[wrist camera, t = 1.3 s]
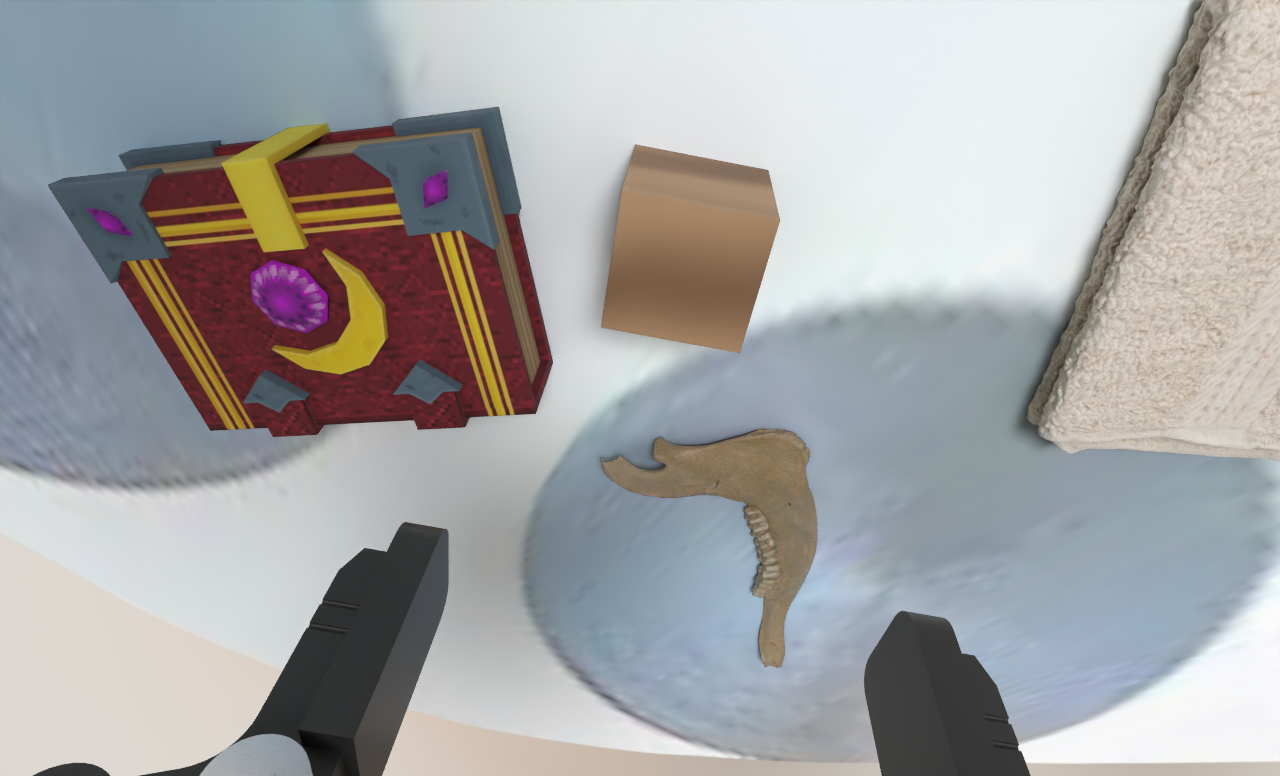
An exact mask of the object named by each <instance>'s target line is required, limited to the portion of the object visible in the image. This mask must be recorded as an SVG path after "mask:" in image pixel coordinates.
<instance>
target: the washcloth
mask: <svg viewBox="0 0 1280 776" xmlns="http://www.w3.org/2000/svg"><path fill="white" fill-rule="evenodd" d="M1171 75H1172V77H1171ZM1168 76H1169V77H1170V80H1169V83H1168V86H1167V87H1166V92H1165V93H1164V94H1163V95H1162V96H1161V97H1160V98H1159V99H1158V103H1157V107H1156V109H1155V114H1154V116H1153V119H1152V122H1151V125H1150V129H1149V131H1148V133H1147V134H1146V136H1145V139H1144V144H1143V147H1142V150H1141V153H1140V154H1139V156H1137V157H1136V158H1135V159H1134V162H1135V165H1134V167H1133V168H1132V170H1131V171H1130V172H1129V176H1128V178H1127V180H1126V183H1125V185H1124V186H1123V187H1122V189H1121V191H1120V193H1119V195H1118V197H1117V200H1118V205H1117V206H1116V208H1115V210H1114V211H1113V213H1112V216H1111V217H1110V218H1109V219H1108V220H1107V221H1106V224H1107V227H1106V228H1105V229H1104V230H1103V234H1104V236H1103V238H1102V239H1101V242H1100V246H1099V252H1098V253H1097V255H1096V256H1095V257H1094V261H1093V264H1092V266H1091V276H1090V277H1089V278H1088V279H1087V280H1086V282H1085V284H1084V287H1083V290H1082V292H1081V293H1080V295H1079V296H1078V298H1077V300H1076V302H1075V305H1076V308H1075V312H1074V313H1073V315H1072V317H1071V320H1070V323H1069V326H1068V328H1067V329H1066V330H1065V331H1064V333H1063V334H1062V335H1061V340H1060V343H1059V345H1058V346H1057V348H1056V349H1055V350H1054V352H1053V356H1052V358H1051V360H1050V364H1049V367H1048V368H1047V371H1046V372H1045V373H1044V376H1043V380H1042V382H1041V384H1040V385H1039V386H1038V388H1037V390H1036V394H1035V396H1034V398H1033V399H1032V401H1031V402H1030V404H1029V406H1028V413H1027V415H1026V418H1027V419H1028V420H1029V422H1031V423H1032V424H1034V425H1038V426H1039V429H1038V434H1039V436H1040V437H1042V438H1044V439H1046V440H1049V441H1051V442H1053V443H1054V444H1056V445H1057V446H1058V447H1059V448H1060V449H1062V450H1063V451H1064V452H1066V453H1068V454H1073V453H1075V452H1078V451H1081V450H1085V449H1128V450H1137V451H1154V452H1169V453H1181V454H1194V455H1204V456H1213V457H1241V458H1245V457H1249V458H1262V459H1263V458H1267V459H1272V460H1278V461H1279V460H1280V0H1203V2H1202V5H1201V7H1200V9H1199V10H1197V11H1196V12H1195V14H1194V24H1193V25H1192V26H1191V28H1190V30H1189V35H1188V39H1187V41H1186V42H1185V44H1184V46H1183V48H1182V50H1181V51H1180V53H1179V55H1178V57H1177V62H1176V66H1175V67H1173V68H1172V69H1171V70H1170V72H1169V73H1168Z"/></svg>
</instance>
